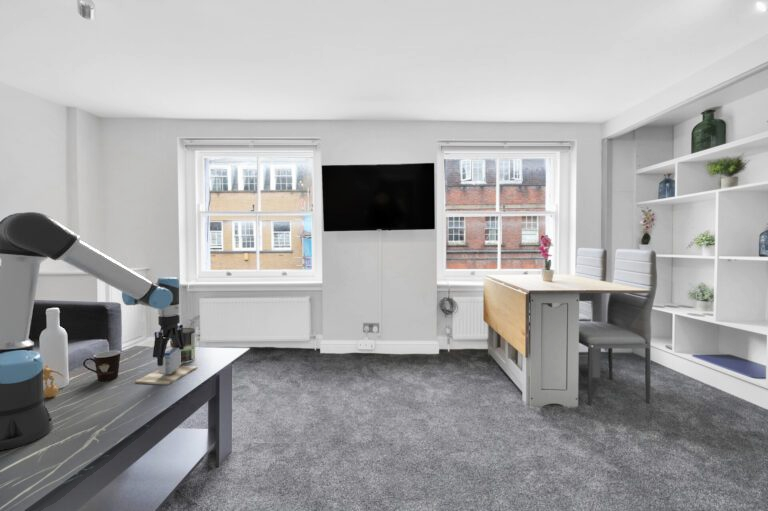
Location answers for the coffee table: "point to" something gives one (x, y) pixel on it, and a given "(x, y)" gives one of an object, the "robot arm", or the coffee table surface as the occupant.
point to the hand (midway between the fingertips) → (169, 368)
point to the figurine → (51, 390)
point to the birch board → (166, 376)
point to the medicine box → (172, 359)
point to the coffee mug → (106, 365)
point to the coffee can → (187, 345)
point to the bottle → (54, 349)
